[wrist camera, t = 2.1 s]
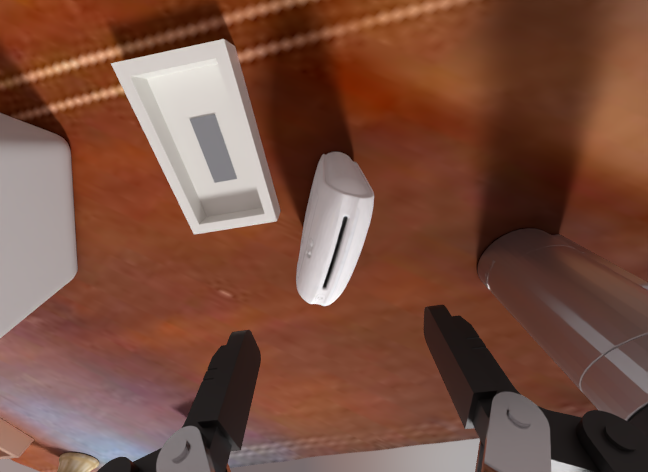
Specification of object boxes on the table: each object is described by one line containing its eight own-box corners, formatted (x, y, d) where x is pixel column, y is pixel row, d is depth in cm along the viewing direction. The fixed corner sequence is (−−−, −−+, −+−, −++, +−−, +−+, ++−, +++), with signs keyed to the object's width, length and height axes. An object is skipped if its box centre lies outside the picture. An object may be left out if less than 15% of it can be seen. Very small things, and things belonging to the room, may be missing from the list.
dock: (235, 46, 20) (223, 38, 18) (280, 211, 27) (276, 221, 25) (134, 68, 21) (110, 63, 18) (204, 223, 28) (194, 234, 25)
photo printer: (334, 242, 29) (343, 324, 18) (300, 235, 29) (287, 314, 18) (361, 156, 24) (393, 198, 14) (320, 146, 24) (318, 180, 13)
